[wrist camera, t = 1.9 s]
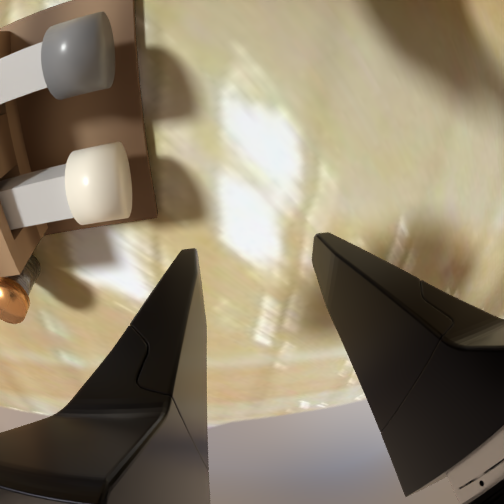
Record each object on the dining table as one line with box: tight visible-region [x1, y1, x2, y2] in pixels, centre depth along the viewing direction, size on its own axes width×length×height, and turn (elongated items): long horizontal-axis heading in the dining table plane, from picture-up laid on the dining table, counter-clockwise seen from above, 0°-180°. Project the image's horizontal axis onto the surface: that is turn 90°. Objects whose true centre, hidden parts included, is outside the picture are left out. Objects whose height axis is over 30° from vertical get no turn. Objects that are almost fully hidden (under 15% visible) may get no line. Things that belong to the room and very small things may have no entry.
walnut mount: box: [0, 0, 158, 277], centre depth 13 cm, size 13×14×6 cm
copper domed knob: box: [0, 255, 40, 324], centre depth 18 cm, size 3×3×4 cm
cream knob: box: [0, 142, 132, 230], centre depth 14 cm, size 9×4×4 cm, turn 92°
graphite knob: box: [0, 12, 115, 104], centre depth 10 cm, size 9×4×4 cm, turn 92°
